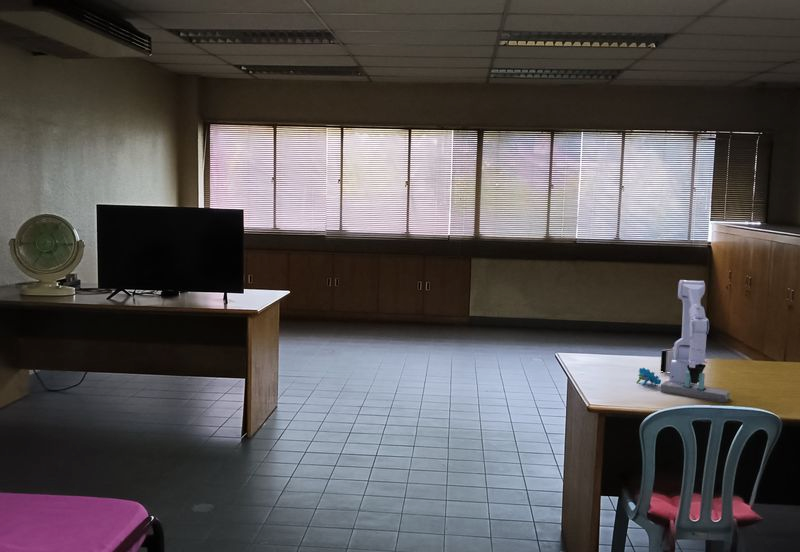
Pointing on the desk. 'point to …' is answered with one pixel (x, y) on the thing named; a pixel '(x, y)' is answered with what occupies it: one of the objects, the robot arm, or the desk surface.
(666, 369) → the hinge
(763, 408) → the desk surface
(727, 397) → the grey board with slots
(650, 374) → the blue lumpy piece
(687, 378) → the upright aqua box
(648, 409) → the desk surface
